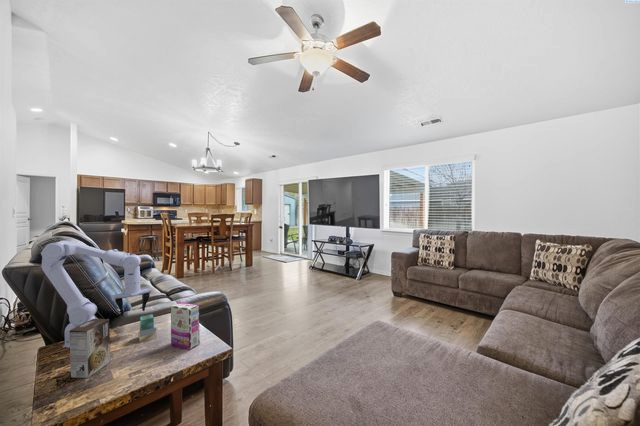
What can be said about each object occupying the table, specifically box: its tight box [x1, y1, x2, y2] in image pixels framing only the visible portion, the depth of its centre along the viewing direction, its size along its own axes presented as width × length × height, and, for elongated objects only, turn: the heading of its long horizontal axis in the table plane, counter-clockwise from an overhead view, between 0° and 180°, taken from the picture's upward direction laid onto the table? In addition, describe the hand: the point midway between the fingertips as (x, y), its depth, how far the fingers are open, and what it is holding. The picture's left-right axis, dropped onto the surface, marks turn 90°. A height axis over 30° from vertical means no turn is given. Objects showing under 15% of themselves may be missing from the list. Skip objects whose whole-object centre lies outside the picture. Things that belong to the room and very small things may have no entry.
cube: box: [139, 313, 155, 331], centre depth 112 cm, size 4×4×4 cm
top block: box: [139, 322, 157, 337], centre depth 112 cm, size 6×6×2 cm
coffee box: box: [69, 318, 112, 379], centre depth 90 cm, size 9×6×16 cm
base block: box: [137, 331, 158, 343], centre depth 112 cm, size 6×6×2 cm
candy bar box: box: [170, 301, 200, 350], centre depth 106 cm, size 11×5×16 cm, turn 68°
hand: (133, 312), depth 114 cm, fingers open, 7 cm apart
